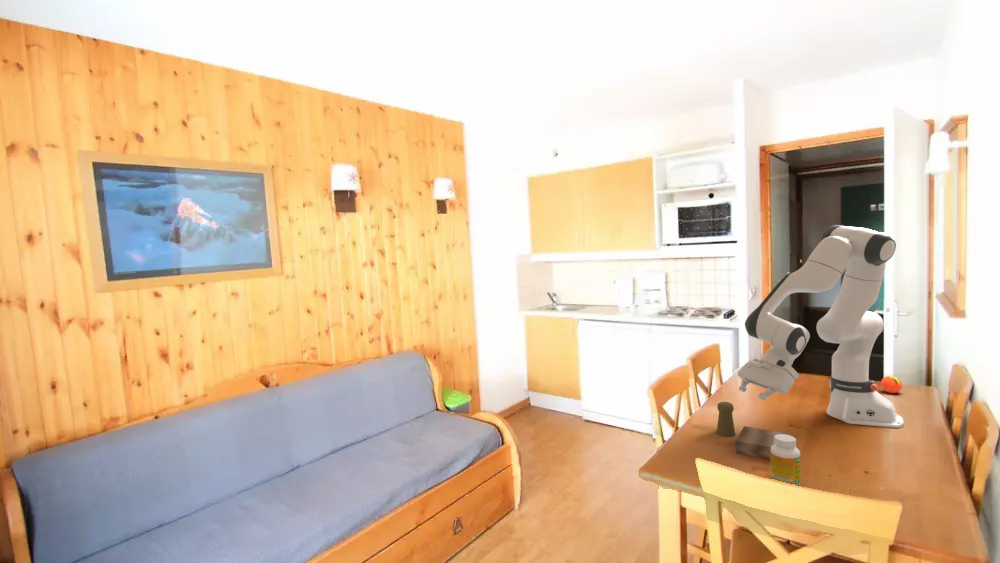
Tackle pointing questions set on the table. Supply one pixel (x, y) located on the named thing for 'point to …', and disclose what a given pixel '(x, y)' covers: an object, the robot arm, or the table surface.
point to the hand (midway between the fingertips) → (750, 394)
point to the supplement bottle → (785, 459)
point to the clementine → (891, 384)
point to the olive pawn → (725, 419)
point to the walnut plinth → (756, 442)
